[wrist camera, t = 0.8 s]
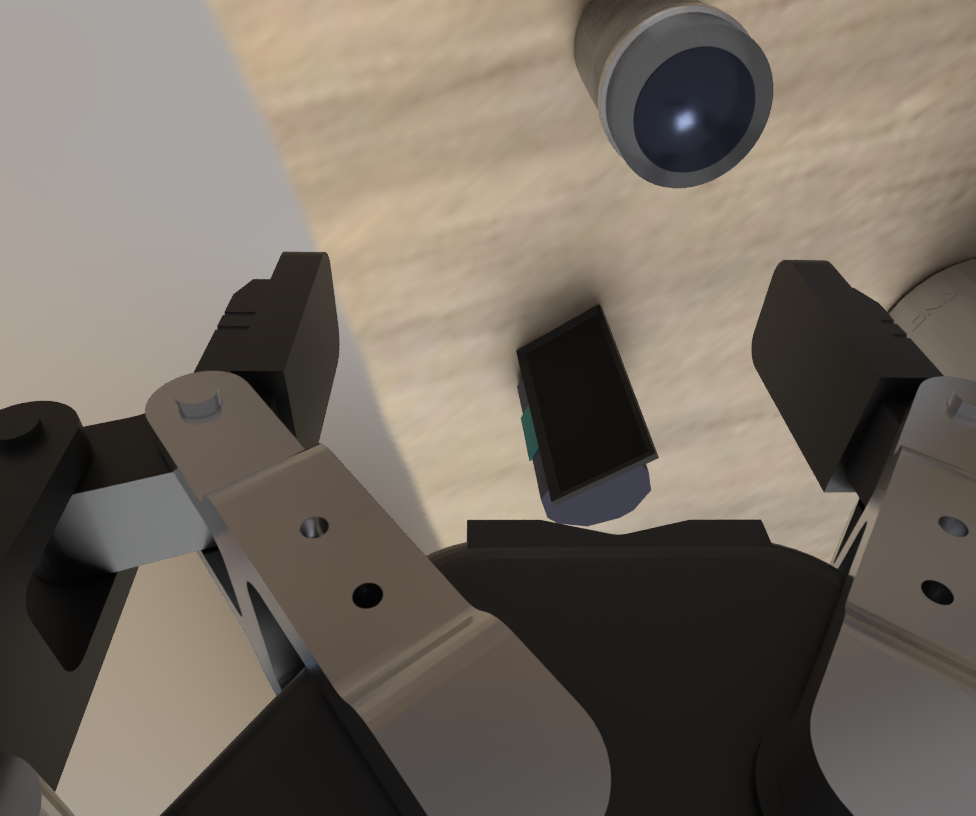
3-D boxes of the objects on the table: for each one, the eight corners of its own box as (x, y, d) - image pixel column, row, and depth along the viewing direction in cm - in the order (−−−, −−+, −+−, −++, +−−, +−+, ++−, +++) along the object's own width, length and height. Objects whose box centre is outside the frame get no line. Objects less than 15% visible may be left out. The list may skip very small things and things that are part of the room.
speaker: (497, 329, 37) (528, 477, 30) (602, 302, 37) (658, 447, 30) (523, 420, 43) (554, 564, 36) (614, 398, 42) (664, 539, 35)
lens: (724, 9, 28) (816, 72, 21) (648, 129, 31) (707, 218, 24) (616, -60, 26) (678, -17, 19) (547, 73, 29) (579, 152, 22)
